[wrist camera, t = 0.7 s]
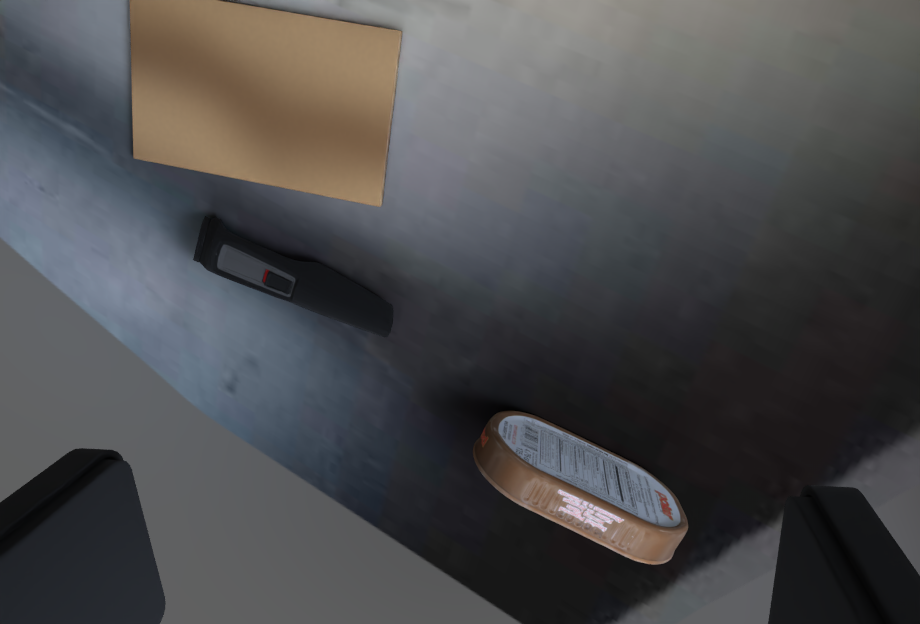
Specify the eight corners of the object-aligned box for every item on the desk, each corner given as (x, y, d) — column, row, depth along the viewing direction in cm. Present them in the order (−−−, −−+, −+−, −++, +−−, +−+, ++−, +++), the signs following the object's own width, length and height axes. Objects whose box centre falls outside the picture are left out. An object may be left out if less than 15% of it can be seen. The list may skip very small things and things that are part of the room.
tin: (479, 421, 48) (461, 487, 40) (497, 387, 46) (482, 449, 39) (661, 508, 47) (679, 592, 40) (683, 477, 46) (706, 556, 38)
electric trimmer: (391, 340, 47) (380, 357, 44) (198, 256, 47) (173, 268, 44) (408, 296, 45) (398, 310, 42) (209, 209, 45) (185, 218, 42)
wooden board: (133, -14, 41) (128, -16, 41) (402, 31, 39) (400, 30, 39) (137, 157, 45) (133, 158, 45) (382, 205, 43) (380, 207, 43)
